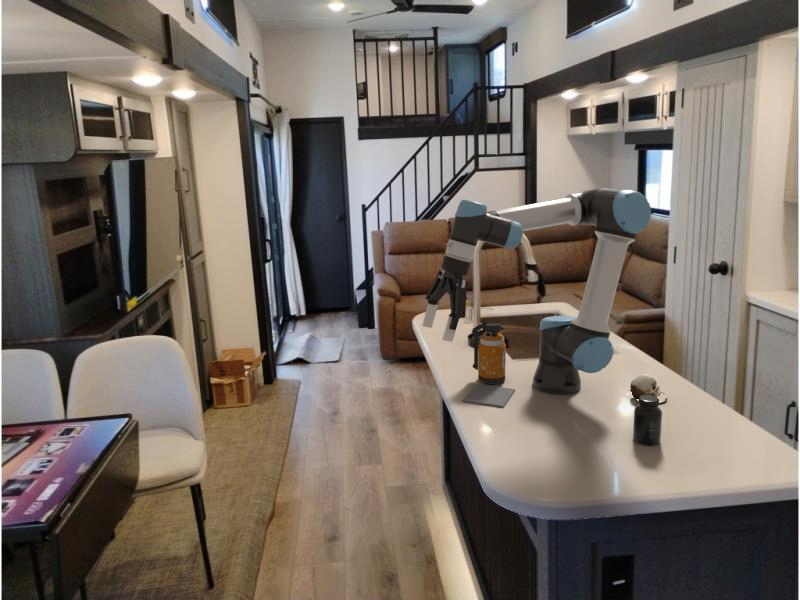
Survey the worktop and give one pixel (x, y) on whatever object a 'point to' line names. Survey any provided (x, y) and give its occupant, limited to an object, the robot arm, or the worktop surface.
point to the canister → (489, 353)
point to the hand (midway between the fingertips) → (436, 333)
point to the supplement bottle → (647, 421)
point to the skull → (644, 386)
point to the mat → (489, 395)
